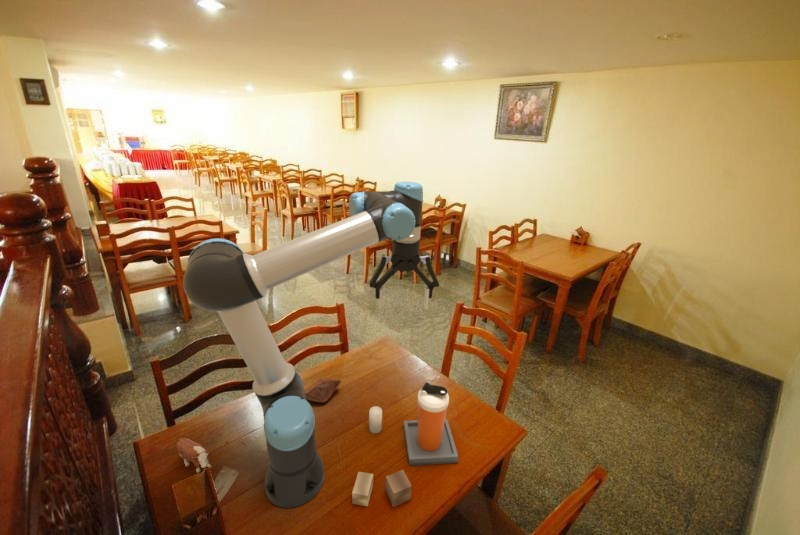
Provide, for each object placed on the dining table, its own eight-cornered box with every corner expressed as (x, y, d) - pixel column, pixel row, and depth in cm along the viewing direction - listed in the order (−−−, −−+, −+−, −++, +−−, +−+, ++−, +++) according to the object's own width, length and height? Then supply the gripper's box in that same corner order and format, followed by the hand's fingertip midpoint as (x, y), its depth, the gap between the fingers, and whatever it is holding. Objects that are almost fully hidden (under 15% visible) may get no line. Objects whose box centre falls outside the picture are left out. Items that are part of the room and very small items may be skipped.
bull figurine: (204, 485, 91) (199, 463, 88) (176, 460, 98) (171, 438, 95) (220, 472, 95) (215, 450, 92) (192, 449, 101) (187, 427, 98)
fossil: (342, 377, 128) (332, 367, 120) (346, 400, 122) (335, 391, 115) (310, 389, 128) (297, 380, 120) (312, 412, 123) (299, 404, 115)
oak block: (352, 503, 89) (352, 493, 87) (358, 482, 94) (358, 471, 93) (367, 506, 88) (367, 495, 87) (373, 484, 94) (373, 474, 92)
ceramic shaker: (369, 433, 109) (369, 416, 106) (368, 423, 113) (369, 406, 110) (382, 433, 109) (382, 415, 107) (381, 423, 113) (381, 406, 111)
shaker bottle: (442, 457, 101) (448, 402, 94) (412, 450, 103) (415, 396, 95) (445, 432, 109) (451, 380, 102) (416, 427, 111) (420, 375, 103)
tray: (409, 465, 99) (409, 459, 98) (403, 426, 112) (403, 420, 111) (457, 462, 101) (458, 456, 100) (446, 424, 114) (447, 418, 113)
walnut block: (393, 507, 88) (393, 493, 86) (385, 489, 92) (385, 476, 91) (410, 499, 90) (411, 485, 88) (402, 482, 94) (403, 469, 93)
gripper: (361, 243, 92) (361, 314, 100) (453, 244, 95) (446, 313, 103) (361, 235, 99) (361, 302, 107) (447, 236, 102) (441, 301, 110)
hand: (403, 307), depth 105 cm, fingers open, 13 cm apart
